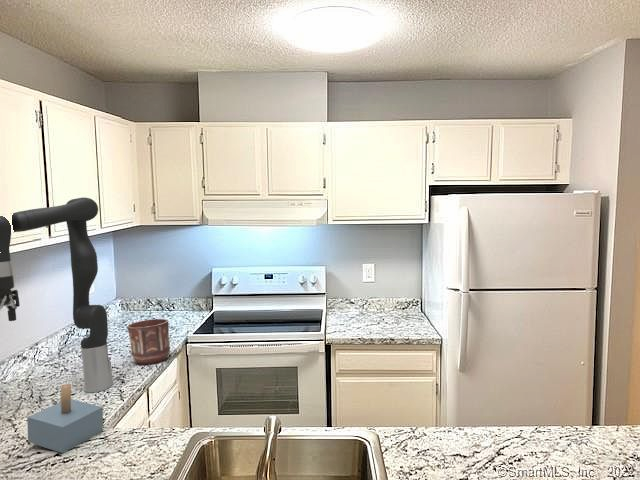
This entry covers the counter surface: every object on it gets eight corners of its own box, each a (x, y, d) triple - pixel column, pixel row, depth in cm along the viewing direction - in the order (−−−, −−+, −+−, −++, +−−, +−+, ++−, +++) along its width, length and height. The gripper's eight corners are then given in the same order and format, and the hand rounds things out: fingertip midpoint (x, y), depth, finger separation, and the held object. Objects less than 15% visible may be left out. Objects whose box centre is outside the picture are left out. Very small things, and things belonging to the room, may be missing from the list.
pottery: (154, 353, 230) (151, 317, 229) (179, 356, 221) (175, 319, 220) (123, 365, 215) (119, 326, 214) (148, 368, 206) (144, 328, 205)
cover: (69, 421, 149) (68, 374, 147) (102, 430, 144) (102, 381, 142) (27, 442, 136) (26, 390, 134) (63, 453, 131) (62, 399, 129)
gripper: (-3, 277, 149) (2, 327, 150) (23, 272, 163) (28, 318, 164) (-27, 279, 149) (-22, 329, 150) (1, 274, 163) (6, 320, 164)
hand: (4, 323), depth 157 cm, fingers open, 8 cm apart
